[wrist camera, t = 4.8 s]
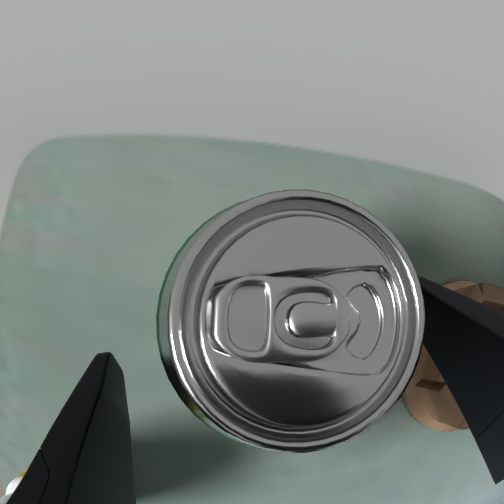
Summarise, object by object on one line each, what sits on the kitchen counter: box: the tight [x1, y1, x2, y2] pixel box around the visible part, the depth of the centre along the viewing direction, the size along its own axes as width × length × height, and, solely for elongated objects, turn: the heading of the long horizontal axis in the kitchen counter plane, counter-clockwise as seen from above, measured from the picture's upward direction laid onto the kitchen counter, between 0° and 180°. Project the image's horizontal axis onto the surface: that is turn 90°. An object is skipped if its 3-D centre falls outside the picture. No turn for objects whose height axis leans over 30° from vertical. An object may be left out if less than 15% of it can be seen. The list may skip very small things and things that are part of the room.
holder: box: [401, 280, 504, 431], centre depth 15 cm, size 10×10×4 cm
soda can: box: [156, 190, 425, 453], centre depth 10 cm, size 5×5×12 cm
